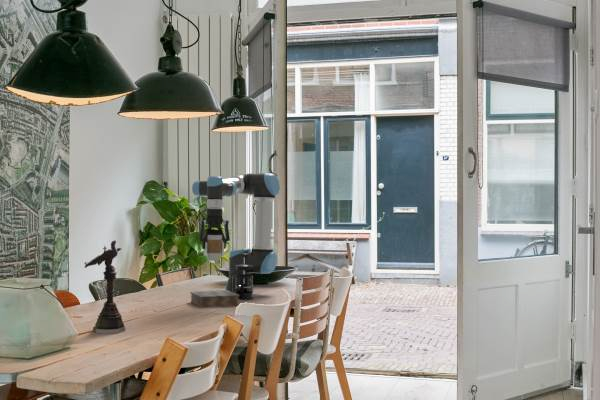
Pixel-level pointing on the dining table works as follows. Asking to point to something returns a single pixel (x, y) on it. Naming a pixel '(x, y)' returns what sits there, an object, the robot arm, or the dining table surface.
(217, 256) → the coffee cup
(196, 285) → the dining table surface
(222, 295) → the walnut stand
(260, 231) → the robot arm
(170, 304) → the dining table surface
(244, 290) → the french press
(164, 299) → the dining table surface
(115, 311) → the bird statue
